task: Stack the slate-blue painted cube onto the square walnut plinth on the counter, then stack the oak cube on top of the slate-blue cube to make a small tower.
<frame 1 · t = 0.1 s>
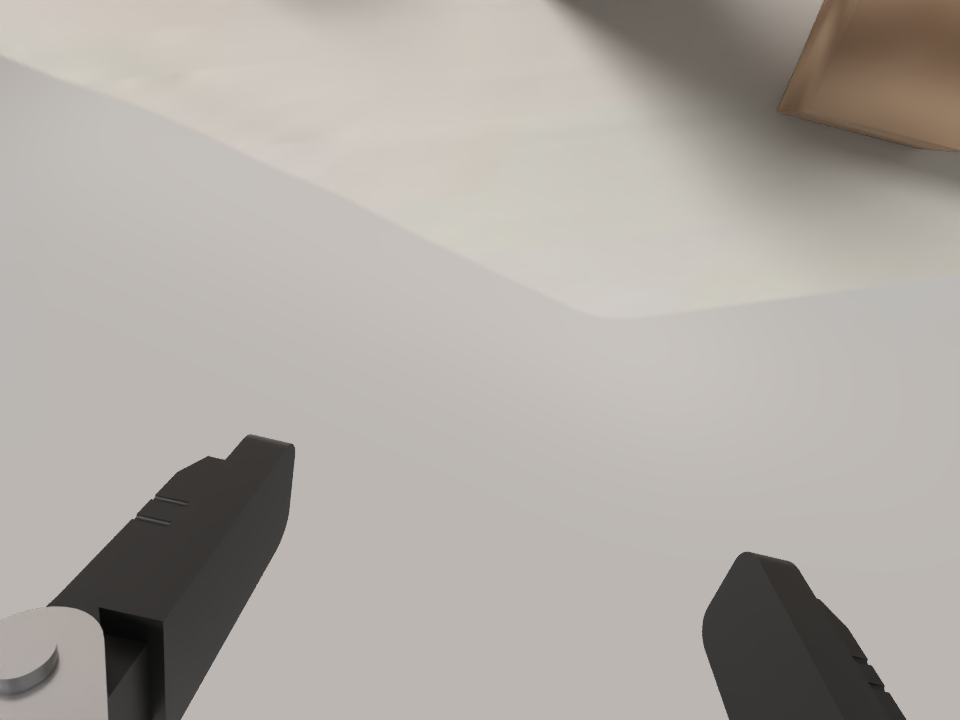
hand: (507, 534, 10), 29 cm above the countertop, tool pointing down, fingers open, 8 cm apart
walnut plinth: (888, 46, 31), on the countertop
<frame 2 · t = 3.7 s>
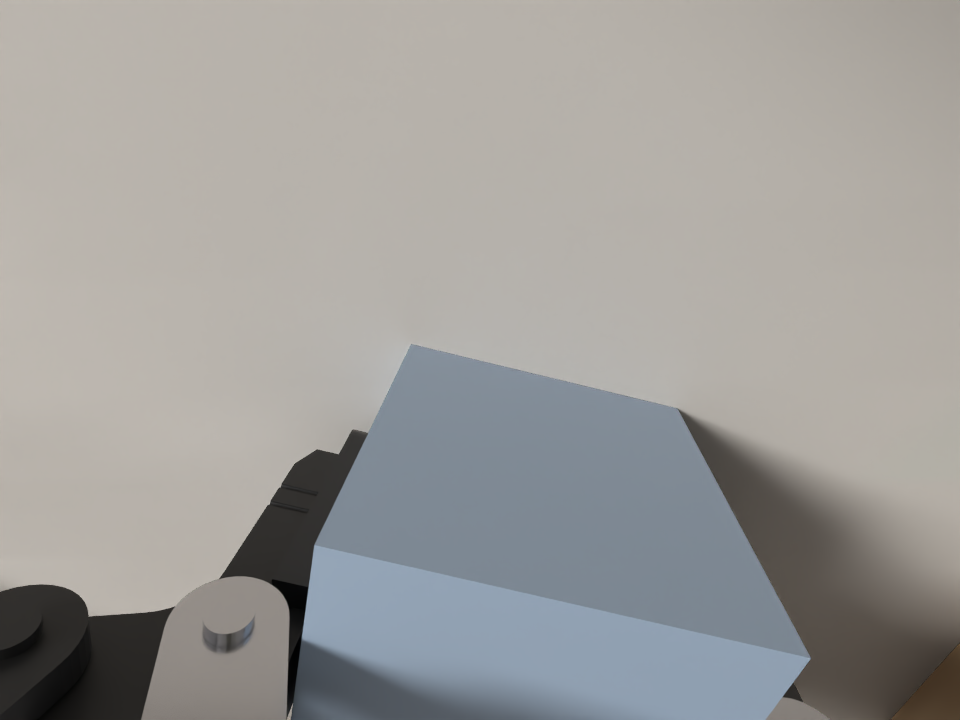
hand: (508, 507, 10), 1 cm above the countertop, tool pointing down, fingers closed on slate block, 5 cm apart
slate block: (510, 484, 11), on the countertop, touching gripper
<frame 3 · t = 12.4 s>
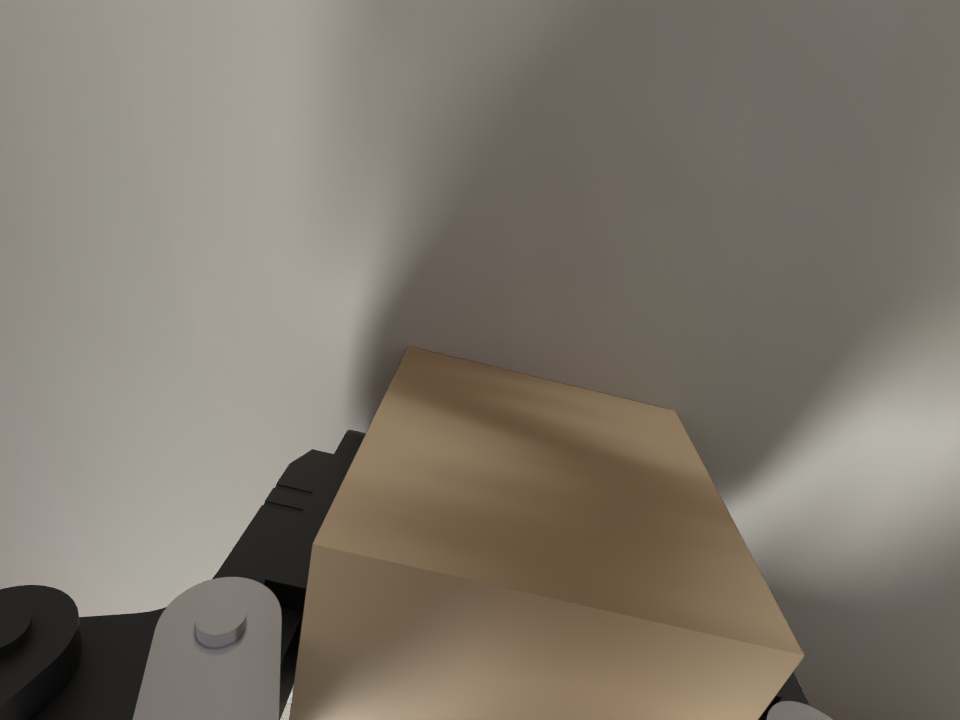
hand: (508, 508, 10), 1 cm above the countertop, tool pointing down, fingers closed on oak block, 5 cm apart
oak block: (508, 484, 11), on the countertop, touching gripper
when the fingers open (11 cm above the countertop, at t = 17.9 s): oak block stays where it is, resting on slate block.
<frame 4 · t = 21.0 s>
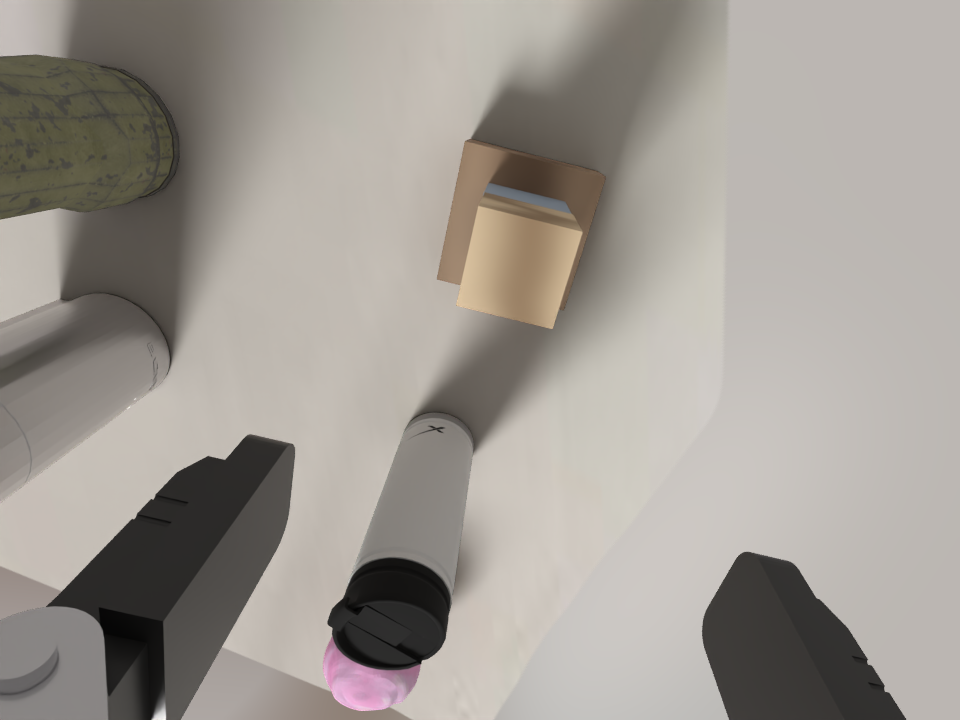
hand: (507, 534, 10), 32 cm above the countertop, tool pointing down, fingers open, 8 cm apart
oak block: (517, 247, 31), point 9 cm above the countertop, touching slate block
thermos: (120, 134, 38), on the countertop
travel mug: (437, 439, 47), on the countertop
slate block: (517, 230, 35), point 4 cm above the countertop, touching oak block, walnut plinth
walnut plinth: (517, 220, 39), on the countertop
cupcake: (388, 603, 56), on the countertop
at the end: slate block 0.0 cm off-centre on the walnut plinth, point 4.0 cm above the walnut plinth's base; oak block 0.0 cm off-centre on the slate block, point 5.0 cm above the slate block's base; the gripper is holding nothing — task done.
